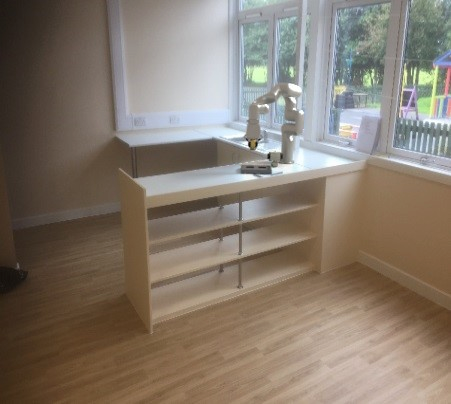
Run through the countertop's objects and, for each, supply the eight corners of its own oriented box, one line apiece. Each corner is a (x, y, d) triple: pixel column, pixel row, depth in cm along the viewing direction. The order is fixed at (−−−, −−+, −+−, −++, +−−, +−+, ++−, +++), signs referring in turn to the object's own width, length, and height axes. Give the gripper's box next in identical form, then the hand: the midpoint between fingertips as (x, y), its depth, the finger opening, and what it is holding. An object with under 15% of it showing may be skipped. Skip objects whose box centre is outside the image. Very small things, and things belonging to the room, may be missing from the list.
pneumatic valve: (266, 165, 330) (267, 150, 326) (281, 165, 330) (282, 150, 327) (267, 167, 325) (268, 151, 321) (282, 167, 325) (283, 151, 322)
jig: (240, 168, 319) (241, 164, 318) (270, 169, 318) (270, 165, 317) (240, 173, 303) (241, 169, 303) (271, 174, 303) (271, 170, 302)
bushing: (249, 149, 308) (249, 138, 306) (255, 149, 308) (256, 138, 306) (249, 150, 304) (250, 139, 302) (255, 150, 304) (256, 139, 302)
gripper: (242, 122, 297) (241, 148, 302) (266, 122, 297) (264, 148, 302) (241, 121, 304) (241, 146, 309) (265, 121, 304) (264, 146, 309)
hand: (252, 147), depth 306 cm, fingers closed on bushing, 4 cm apart
